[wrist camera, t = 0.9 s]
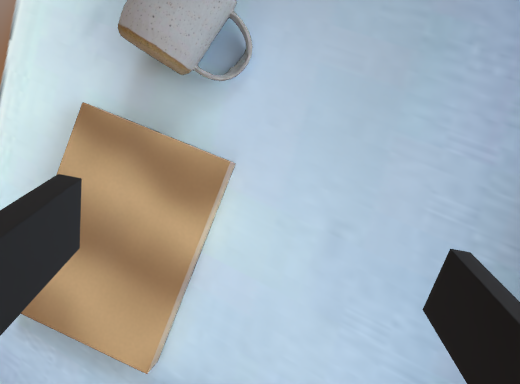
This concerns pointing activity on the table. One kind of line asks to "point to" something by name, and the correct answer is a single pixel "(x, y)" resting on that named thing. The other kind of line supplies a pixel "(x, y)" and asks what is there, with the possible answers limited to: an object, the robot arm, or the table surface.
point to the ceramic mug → (181, 31)
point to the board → (131, 236)
